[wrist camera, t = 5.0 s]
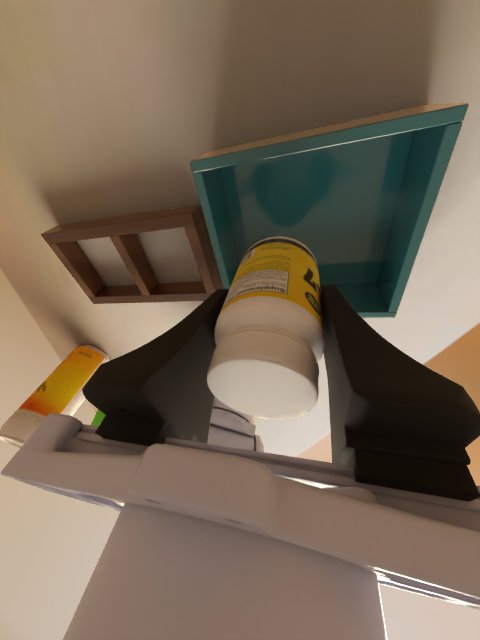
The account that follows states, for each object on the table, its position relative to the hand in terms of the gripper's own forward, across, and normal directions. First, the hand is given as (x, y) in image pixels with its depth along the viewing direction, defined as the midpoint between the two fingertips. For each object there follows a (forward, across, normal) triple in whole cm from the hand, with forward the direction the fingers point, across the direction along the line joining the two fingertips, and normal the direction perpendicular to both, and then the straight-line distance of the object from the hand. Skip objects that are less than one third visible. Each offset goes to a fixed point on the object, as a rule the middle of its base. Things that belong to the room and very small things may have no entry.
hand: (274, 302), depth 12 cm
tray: (+10, -2, 0) cm, 10 cm away
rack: (+10, +15, +1) cm, 18 cm away
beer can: (+10, +34, +18) cm, 40 cm away
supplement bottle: (+3, 0, 0) cm, 3 cm away
